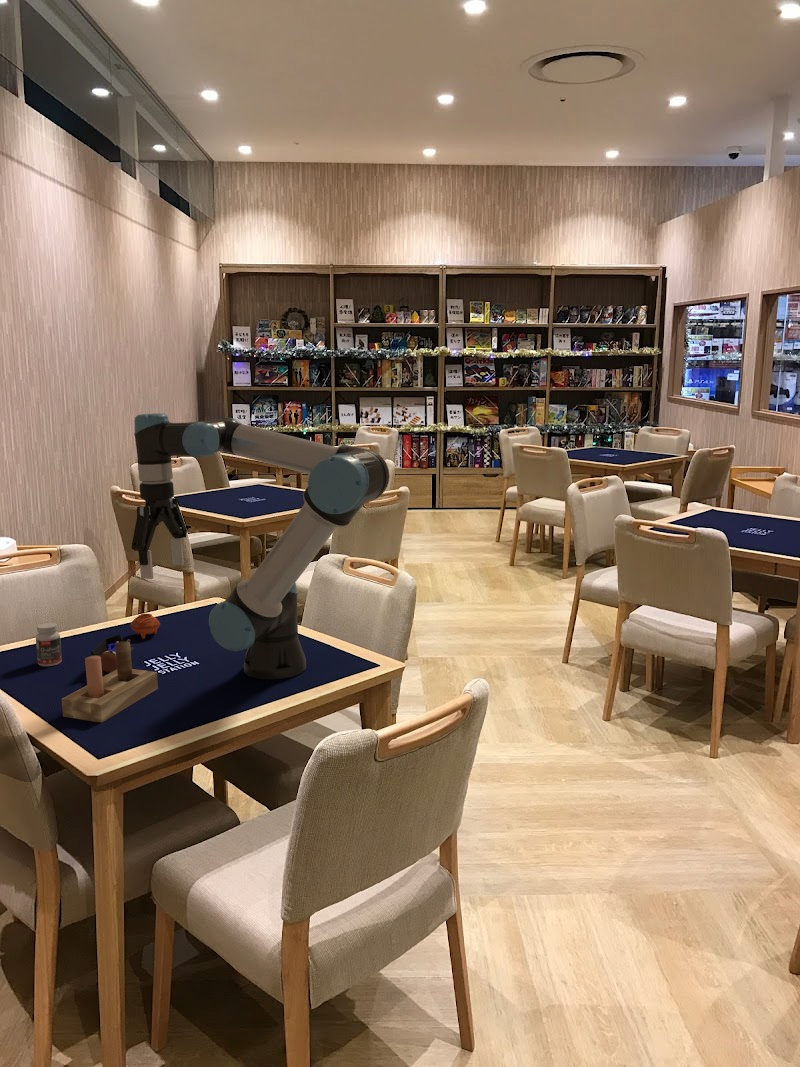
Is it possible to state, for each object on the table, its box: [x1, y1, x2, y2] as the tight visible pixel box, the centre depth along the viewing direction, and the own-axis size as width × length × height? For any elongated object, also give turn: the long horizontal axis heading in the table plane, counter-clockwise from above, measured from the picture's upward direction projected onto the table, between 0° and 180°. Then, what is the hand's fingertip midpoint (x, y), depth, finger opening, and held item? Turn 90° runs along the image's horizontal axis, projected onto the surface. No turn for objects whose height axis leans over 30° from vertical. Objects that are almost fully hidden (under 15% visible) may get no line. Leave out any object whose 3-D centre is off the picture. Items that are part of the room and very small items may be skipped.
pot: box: [129, 613, 161, 640], centre depth 236 cm, size 8×8×7 cm
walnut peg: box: [115, 640, 133, 682], centre depth 194 cm, size 3×3×12 cm
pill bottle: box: [35, 622, 63, 667], centre depth 215 cm, size 6×6×10 cm
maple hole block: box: [61, 668, 159, 723], centre depth 190 cm, size 10×20×4 cm, turn 161°
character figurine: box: [90, 633, 134, 677], centre depth 211 cm, size 8×7×15 cm
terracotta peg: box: [84, 655, 104, 699], centre depth 185 cm, size 3×3×12 cm
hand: (163, 571), depth 201 cm, fingers open, 13 cm apart
